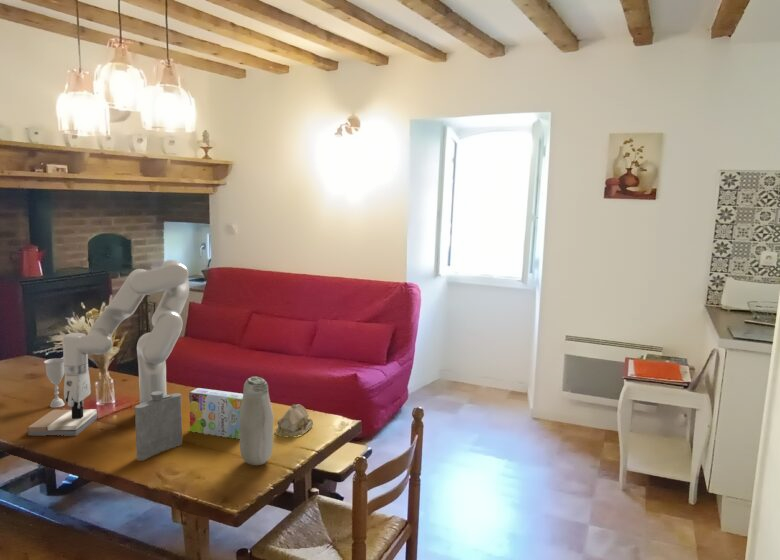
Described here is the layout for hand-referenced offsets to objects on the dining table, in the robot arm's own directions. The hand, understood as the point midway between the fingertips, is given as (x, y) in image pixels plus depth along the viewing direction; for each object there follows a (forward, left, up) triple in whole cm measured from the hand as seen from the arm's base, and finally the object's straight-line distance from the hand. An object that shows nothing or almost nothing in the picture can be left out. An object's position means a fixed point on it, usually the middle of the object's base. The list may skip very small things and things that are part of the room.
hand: (77, 417), depth 198 cm
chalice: (+18, -20, -4) cm, 27 cm away
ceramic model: (-77, +2, -4) cm, 77 cm away
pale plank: (+2, 0, -2) cm, 2 cm away
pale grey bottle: (-68, +27, -4) cm, 73 cm away
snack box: (-51, +5, -4) cm, 51 cm away
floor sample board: (+5, 0, -3) cm, 6 cm away
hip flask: (-35, +19, -4) cm, 40 cm away
